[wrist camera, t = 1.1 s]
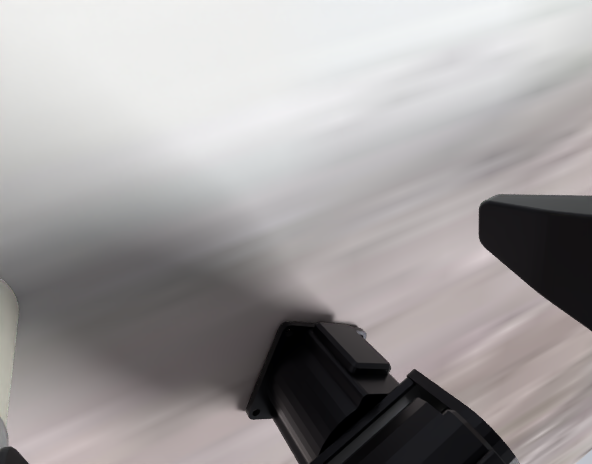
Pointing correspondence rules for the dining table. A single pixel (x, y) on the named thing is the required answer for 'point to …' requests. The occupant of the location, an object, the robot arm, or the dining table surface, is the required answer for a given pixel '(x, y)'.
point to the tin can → (6, 352)
